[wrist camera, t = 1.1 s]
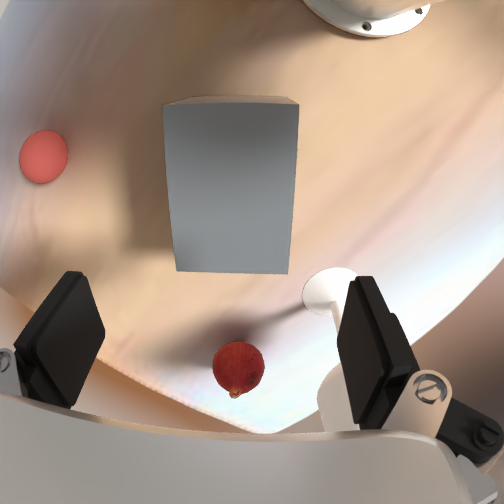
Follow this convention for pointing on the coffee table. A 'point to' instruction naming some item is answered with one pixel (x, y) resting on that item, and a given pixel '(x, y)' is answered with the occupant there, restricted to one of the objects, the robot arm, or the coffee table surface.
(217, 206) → the grey rectangular box
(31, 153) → the ball
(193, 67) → the coffee table surface
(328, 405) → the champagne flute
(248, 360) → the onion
